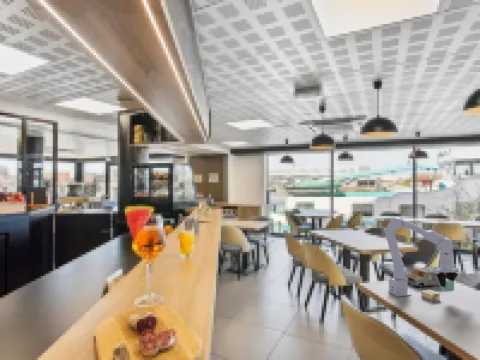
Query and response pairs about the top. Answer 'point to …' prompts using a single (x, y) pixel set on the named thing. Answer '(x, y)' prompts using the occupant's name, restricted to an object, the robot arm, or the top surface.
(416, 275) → the toy car
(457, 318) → the top surface
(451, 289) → the teal block
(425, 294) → the beech block
